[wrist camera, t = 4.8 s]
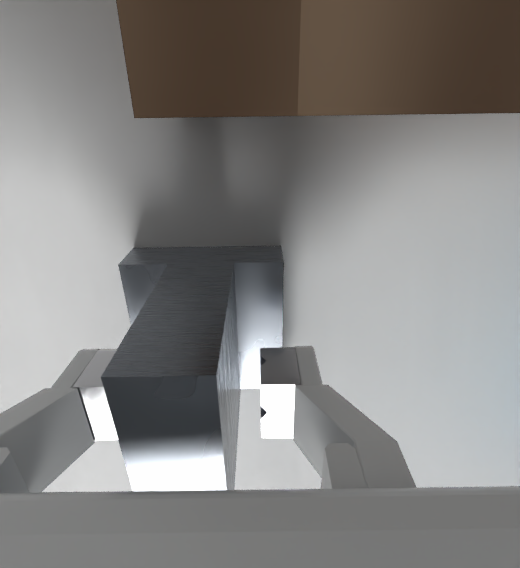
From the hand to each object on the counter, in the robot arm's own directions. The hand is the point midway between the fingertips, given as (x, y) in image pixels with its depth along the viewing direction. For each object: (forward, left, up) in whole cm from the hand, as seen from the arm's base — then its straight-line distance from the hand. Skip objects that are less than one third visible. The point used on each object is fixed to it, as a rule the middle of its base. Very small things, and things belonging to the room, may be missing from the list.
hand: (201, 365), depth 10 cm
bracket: (0, 0, -3) cm, 3 cm away
